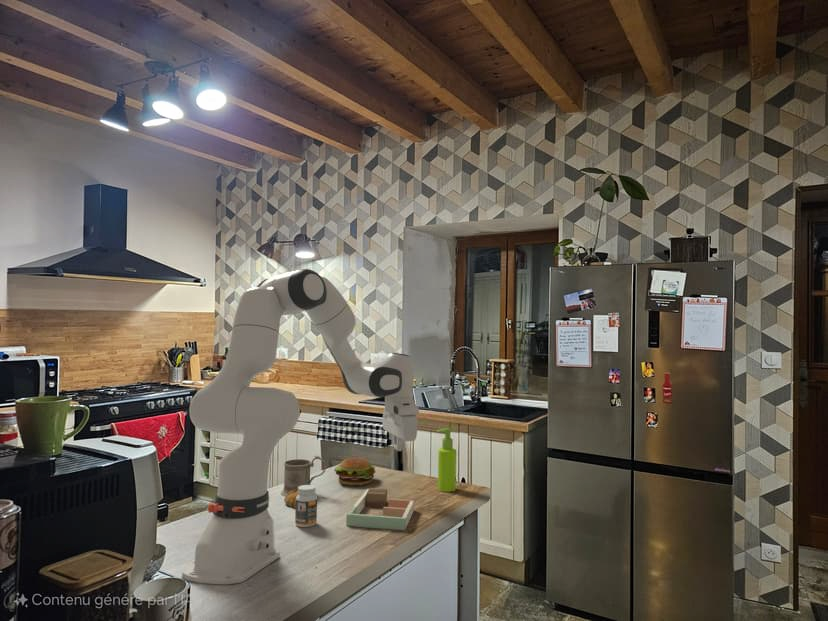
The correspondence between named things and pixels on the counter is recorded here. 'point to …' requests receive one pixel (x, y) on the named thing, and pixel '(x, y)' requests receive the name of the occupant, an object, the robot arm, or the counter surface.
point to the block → (376, 497)
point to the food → (355, 471)
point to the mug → (298, 474)
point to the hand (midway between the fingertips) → (398, 450)
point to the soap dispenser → (447, 464)
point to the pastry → (291, 499)
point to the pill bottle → (306, 506)
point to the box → (392, 516)
